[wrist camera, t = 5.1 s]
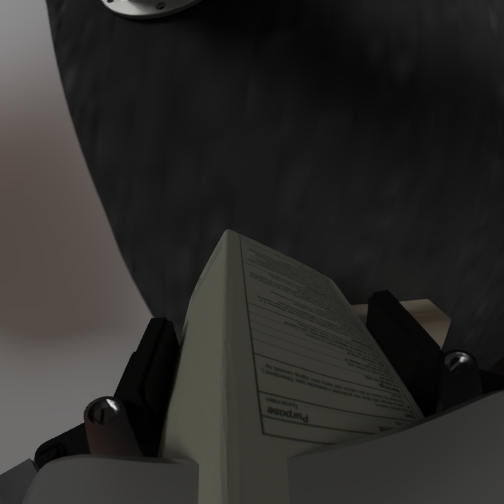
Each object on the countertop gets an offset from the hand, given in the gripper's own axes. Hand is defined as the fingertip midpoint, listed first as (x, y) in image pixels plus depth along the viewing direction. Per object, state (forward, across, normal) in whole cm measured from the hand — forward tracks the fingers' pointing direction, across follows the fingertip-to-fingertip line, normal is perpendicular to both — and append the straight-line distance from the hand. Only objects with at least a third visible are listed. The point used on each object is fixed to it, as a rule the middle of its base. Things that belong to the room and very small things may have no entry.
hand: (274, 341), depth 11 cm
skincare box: (+4, 0, 0) cm, 4 cm away
